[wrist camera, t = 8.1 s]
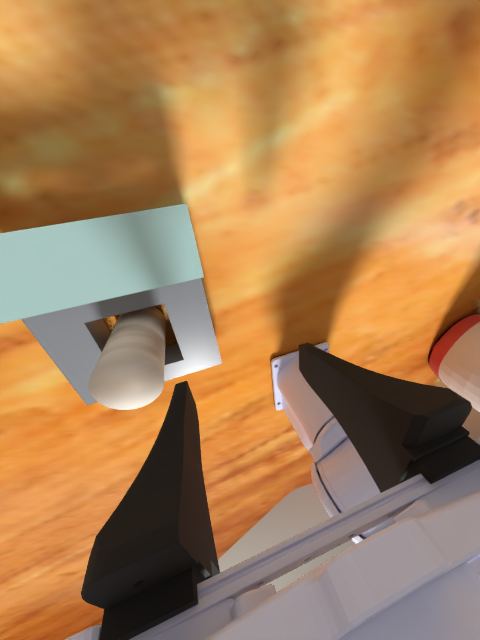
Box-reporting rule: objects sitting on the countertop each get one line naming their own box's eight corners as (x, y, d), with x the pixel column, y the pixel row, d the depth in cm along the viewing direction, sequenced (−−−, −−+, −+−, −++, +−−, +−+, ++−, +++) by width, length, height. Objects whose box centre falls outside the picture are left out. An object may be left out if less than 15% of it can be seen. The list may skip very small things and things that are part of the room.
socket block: (216, 346, 23) (229, 385, 18) (97, 380, 21) (73, 437, 15) (181, 205, 16) (186, 203, 11) (-1, 234, 14) (-101, 249, 9)
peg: (170, 336, 21) (170, 398, 14) (127, 346, 20) (104, 417, 13) (159, 299, 19) (153, 350, 12) (110, 308, 18) (74, 368, 11)
